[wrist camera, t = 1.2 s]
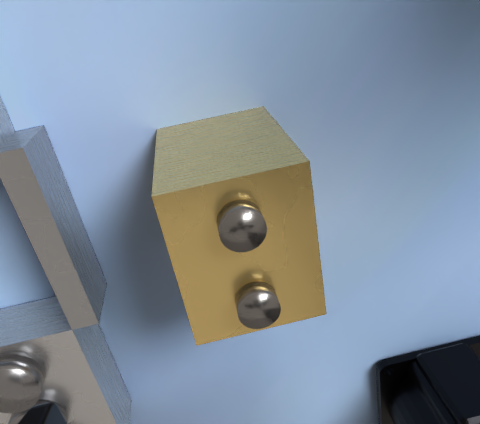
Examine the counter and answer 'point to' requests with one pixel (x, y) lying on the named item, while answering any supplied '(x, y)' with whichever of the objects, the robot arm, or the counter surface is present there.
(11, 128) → the chrome-studded grey beam
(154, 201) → the studded golden block
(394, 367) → the robot arm
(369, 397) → the counter surface
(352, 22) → the counter surface
